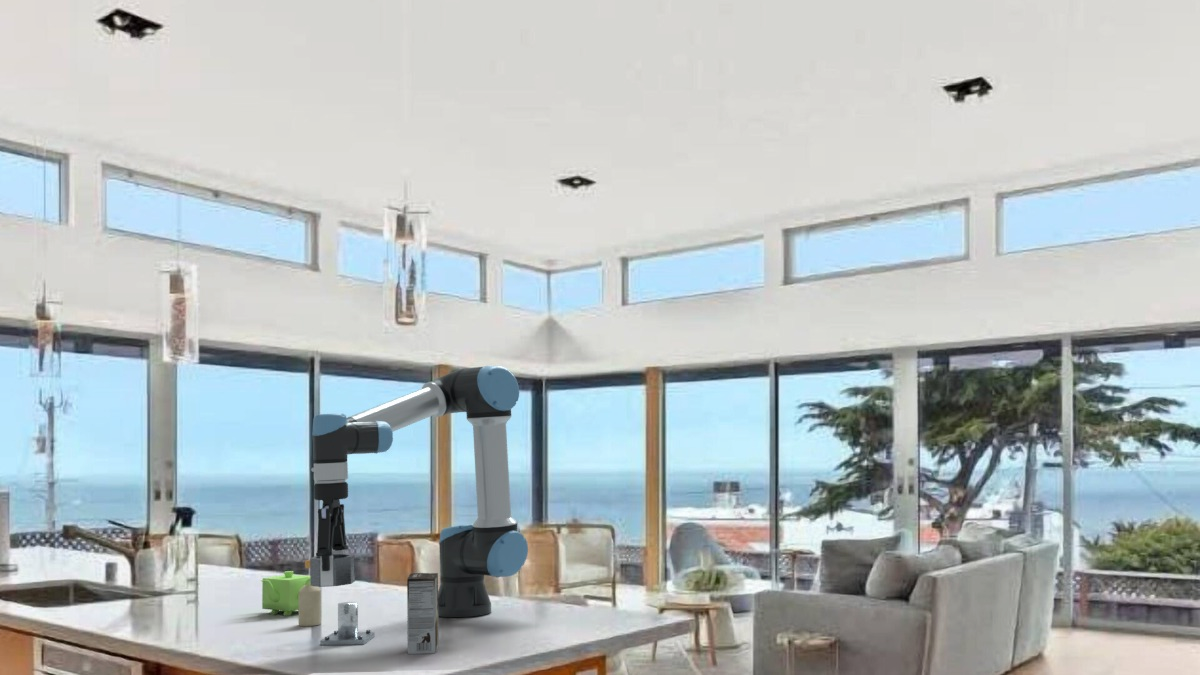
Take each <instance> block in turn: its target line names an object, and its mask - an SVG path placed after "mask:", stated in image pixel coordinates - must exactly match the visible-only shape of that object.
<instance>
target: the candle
mask: <svg viewBox="0 0 1200 675" xmlns="http://www.w3.org/2000/svg"><path fill="white" fill-rule="evenodd" d="M321 624H322V589H321V587H317V586H311V584H309V585H304V586H303V587H302V588H301V589H300V590H299V611H298V626H299V627H314V626H319V625H321Z"/></svg>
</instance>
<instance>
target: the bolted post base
mask: <svg viewBox="0 0 1200 675" xmlns="http://www.w3.org/2000/svg"><path fill="white" fill-rule="evenodd" d="M358 604H359V602H357V601H343V602H339V603H337V630H334V631H333V632H332V633H330V634H328V635H327V636H325V637H324V638H322V639H321V640H320V641H319V642H320V644H319V645H320V646H339V645H340V646H341V645H342V646H343V645H344V646H346V645H347V646H349V645H366V644H367V643H368V642H369V641H370V640H372V639H374V637H375V631H371V630H370V629H367V630H365V631H360V632H359V605H358Z"/></svg>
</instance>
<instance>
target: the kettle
mask: <svg viewBox="0 0 1200 675" xmlns="http://www.w3.org/2000/svg"><path fill="white" fill-rule="evenodd" d="M260 582H262V585H261V586H262V589H261V590H262V594H261V595H262V597H261V599H262V601H261V602H262V604H261V607H262V610H270V613H269V615H278V614H279V612H280V611H281V612H283V616H284V617H286V616H293V615H292V614H293V612H294V611H297V612H299V590H300V589H301V588H302V587H303V586H304V585H309V584H311V578H310V575H301V574H300V575H299V574H294V571H293V570H287V571H283V574H282V575H277V576H275V575H274V576H269V577H263V578H262V580H260Z"/></svg>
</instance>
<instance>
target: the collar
mask: <svg viewBox="0 0 1200 675" xmlns="http://www.w3.org/2000/svg"><path fill="white" fill-rule="evenodd" d="M332 555H333V574H334V585H333V586H332V587H341V586H347V585H351V584H353V583H355V581H356V574H355V572H356V571H355V570H356V568H355V554H349V553H344V554H332ZM304 568H305V569H310V570H309V571H310V572H309V573H310V575H309V576H310V578H311V586H317V587H319V588H325V587H326V588H327V587H330V586H321V574H320V556H316V555H315V556H312V557H310V558H309V559H306V560H305V561H304Z"/></svg>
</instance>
